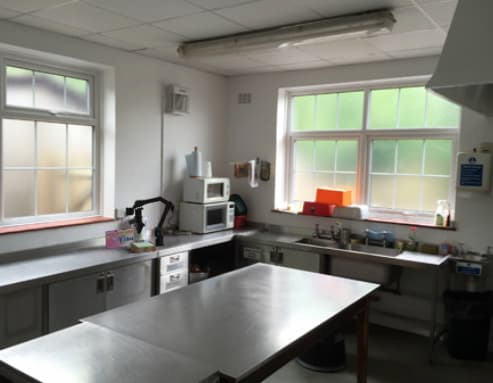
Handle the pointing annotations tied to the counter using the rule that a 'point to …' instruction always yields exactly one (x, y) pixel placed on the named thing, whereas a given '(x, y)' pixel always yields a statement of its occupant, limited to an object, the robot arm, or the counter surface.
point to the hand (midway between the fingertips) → (138, 233)
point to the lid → (143, 244)
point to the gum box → (119, 238)
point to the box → (142, 248)
